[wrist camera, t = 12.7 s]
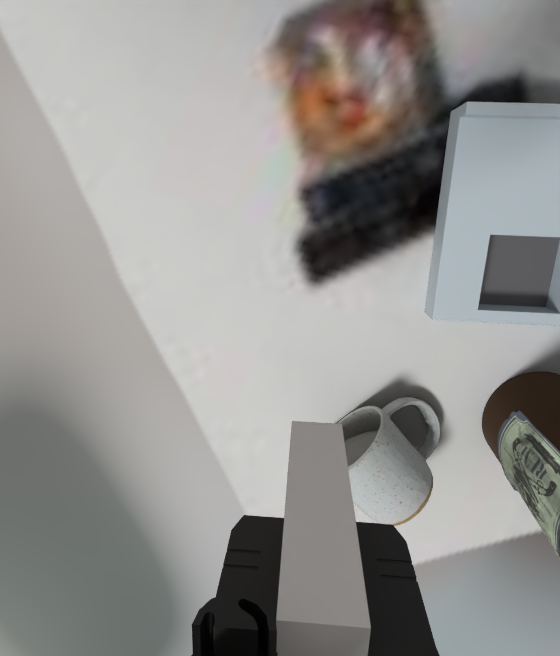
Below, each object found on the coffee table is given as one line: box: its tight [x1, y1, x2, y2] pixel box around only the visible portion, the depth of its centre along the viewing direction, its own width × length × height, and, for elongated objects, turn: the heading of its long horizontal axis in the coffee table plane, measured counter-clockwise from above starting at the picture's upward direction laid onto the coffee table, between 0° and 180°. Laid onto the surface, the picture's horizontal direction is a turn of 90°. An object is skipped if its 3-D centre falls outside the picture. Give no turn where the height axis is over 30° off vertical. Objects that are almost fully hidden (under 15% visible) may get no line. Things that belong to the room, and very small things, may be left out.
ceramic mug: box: [337, 397, 440, 526], centre depth 39 cm, size 11×8×8 cm
